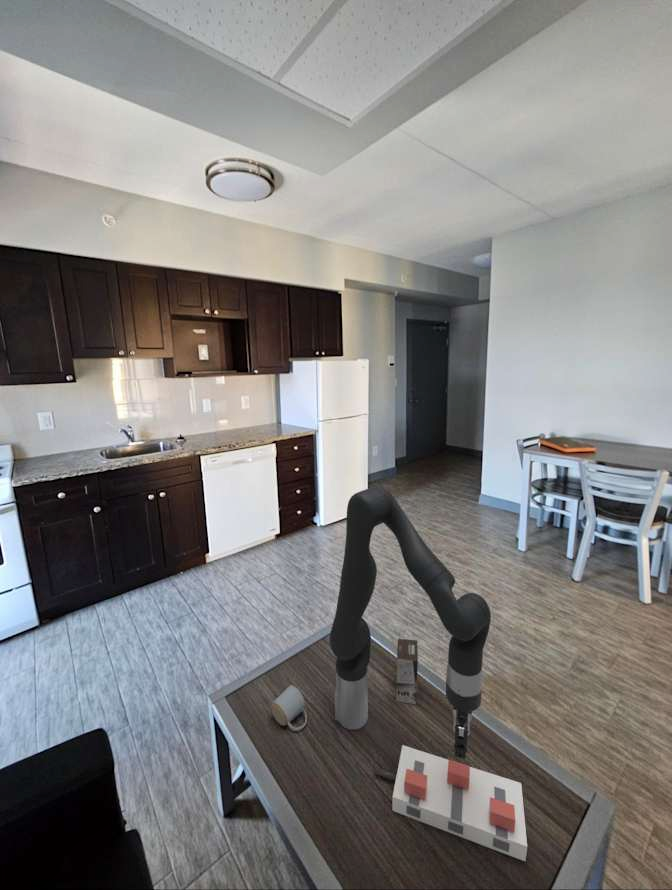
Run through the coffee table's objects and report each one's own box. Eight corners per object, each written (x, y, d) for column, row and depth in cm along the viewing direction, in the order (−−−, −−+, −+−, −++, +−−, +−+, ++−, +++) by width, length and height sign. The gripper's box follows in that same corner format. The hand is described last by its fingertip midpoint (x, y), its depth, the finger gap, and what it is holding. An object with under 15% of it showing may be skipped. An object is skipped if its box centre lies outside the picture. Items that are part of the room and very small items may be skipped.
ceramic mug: (270, 718, 117) (268, 697, 115) (289, 699, 123) (288, 680, 121) (294, 740, 110) (292, 719, 108) (313, 719, 116) (313, 699, 114)
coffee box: (416, 704, 120) (418, 661, 116) (395, 701, 121) (396, 658, 117) (416, 680, 128) (417, 639, 124) (397, 677, 130) (397, 637, 126)
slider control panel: (368, 802, 94) (367, 787, 93) (380, 750, 106) (380, 737, 105) (525, 862, 82) (527, 846, 81) (519, 797, 94) (521, 782, 93)
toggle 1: (404, 792, 92) (404, 781, 91) (406, 779, 94) (406, 768, 94) (425, 799, 90) (425, 788, 89) (426, 786, 93) (427, 775, 92)
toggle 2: (447, 782, 93) (447, 771, 93) (447, 770, 96) (448, 759, 95) (468, 789, 92) (469, 778, 91) (468, 777, 94) (469, 766, 94)
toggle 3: (489, 823, 85) (490, 811, 84) (489, 808, 88) (490, 796, 87) (514, 832, 84) (515, 820, 83) (512, 816, 86) (514, 805, 85)
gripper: (448, 653, 92) (446, 707, 96) (443, 703, 79) (441, 763, 83) (482, 660, 90) (478, 716, 94) (482, 713, 77) (478, 775, 81)
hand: (460, 738), depth 88 cm, fingers open, 8 cm apart
